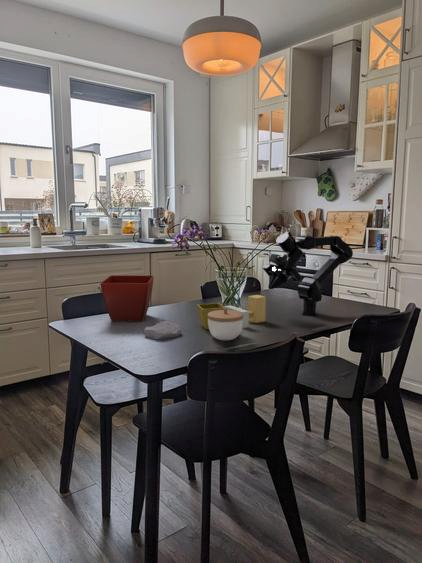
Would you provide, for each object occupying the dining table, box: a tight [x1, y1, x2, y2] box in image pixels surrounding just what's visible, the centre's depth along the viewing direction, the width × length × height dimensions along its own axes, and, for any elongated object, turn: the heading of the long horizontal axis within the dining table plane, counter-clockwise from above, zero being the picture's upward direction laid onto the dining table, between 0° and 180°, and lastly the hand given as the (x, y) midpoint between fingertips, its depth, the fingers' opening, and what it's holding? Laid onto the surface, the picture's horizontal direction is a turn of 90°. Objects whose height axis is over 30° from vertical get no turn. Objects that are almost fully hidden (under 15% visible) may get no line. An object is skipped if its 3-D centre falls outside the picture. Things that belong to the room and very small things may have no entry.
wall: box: [224, 305, 250, 329], centre depth 172 cm, size 3×12×6 cm, turn 32°
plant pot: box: [100, 274, 154, 323], centre depth 184 cm, size 19×19×17 cm
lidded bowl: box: [208, 308, 243, 341], centre depth 156 cm, size 13×13×11 cm
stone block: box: [143, 320, 182, 341], centre depth 161 cm, size 12×5×10 cm
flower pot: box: [196, 302, 225, 330], centre depth 169 cm, size 9×9×9 cm
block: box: [247, 294, 267, 324], centre depth 176 cm, size 8×5×10 cm, turn 122°
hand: (269, 288), depth 179 cm, fingers closed
